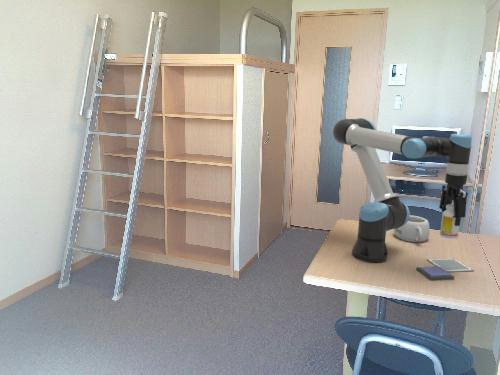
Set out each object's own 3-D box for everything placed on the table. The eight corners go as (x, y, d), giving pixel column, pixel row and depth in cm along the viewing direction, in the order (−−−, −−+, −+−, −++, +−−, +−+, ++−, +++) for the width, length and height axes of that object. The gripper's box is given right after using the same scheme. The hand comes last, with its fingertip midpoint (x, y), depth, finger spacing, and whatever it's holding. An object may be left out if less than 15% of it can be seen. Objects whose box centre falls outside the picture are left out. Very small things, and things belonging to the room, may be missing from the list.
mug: (389, 231, 223) (391, 213, 221) (421, 233, 222) (424, 214, 220) (401, 246, 202) (404, 226, 200) (437, 247, 201) (440, 227, 199)
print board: (444, 272, 173) (445, 271, 173) (426, 260, 185) (426, 259, 185) (473, 271, 175) (473, 270, 175) (453, 259, 187) (454, 258, 187)
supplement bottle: (459, 240, 168) (463, 208, 165) (441, 238, 170) (445, 206, 167) (455, 234, 174) (460, 204, 172) (438, 233, 176) (442, 203, 173)
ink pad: (430, 280, 165) (430, 276, 164) (416, 270, 174) (416, 266, 174) (453, 279, 166) (454, 275, 166) (438, 269, 176) (439, 265, 176)
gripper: (481, 178, 158) (473, 238, 162) (451, 169, 177) (444, 223, 181) (462, 178, 157) (454, 238, 161) (434, 169, 176) (427, 223, 181)
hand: (449, 230), depth 171 cm, fingers closed on supplement bottle, 7 cm apart
